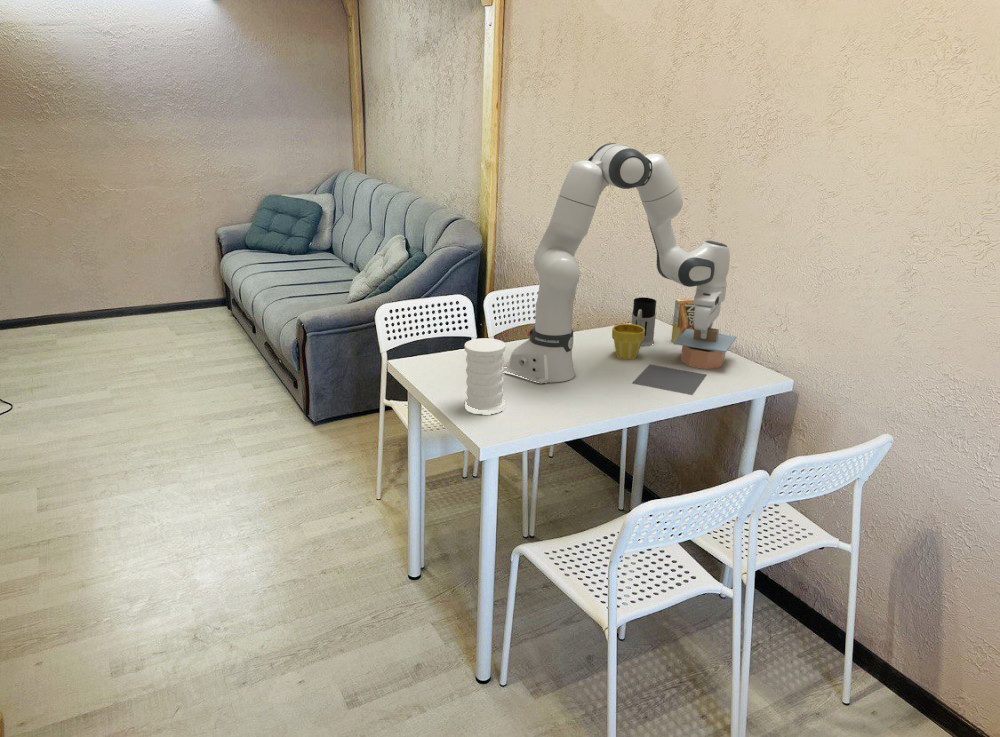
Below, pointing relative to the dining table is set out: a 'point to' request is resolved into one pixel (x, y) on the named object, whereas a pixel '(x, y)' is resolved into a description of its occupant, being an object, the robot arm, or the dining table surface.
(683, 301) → the candy box
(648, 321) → the glass holder
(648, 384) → the mat
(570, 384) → the dining table surface
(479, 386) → the decorative container
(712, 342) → the sheet
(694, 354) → the bowl
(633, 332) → the plant pot
